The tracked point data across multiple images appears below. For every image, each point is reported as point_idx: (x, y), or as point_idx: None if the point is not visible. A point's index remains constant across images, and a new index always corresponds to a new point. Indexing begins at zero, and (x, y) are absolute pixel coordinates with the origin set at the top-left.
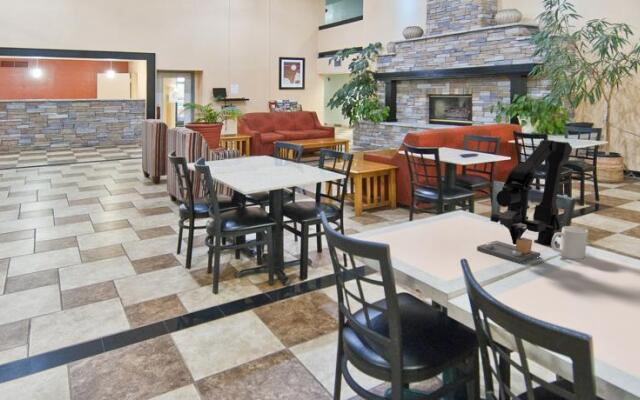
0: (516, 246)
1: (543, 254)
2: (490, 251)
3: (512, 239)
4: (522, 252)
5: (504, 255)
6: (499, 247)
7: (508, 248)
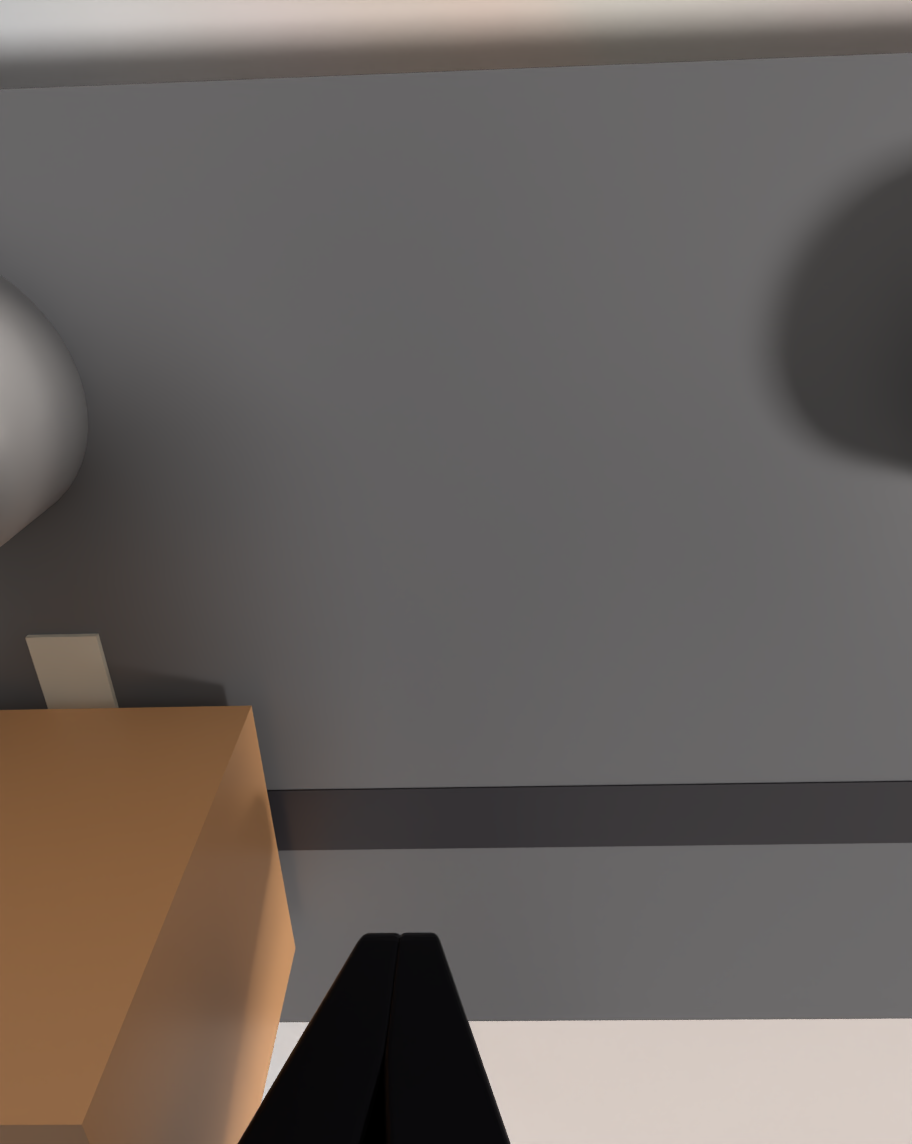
0: (191, 821)
1: None
2: (900, 59)
3: (460, 1091)
4: (3, 718)
5: (223, 83)
6: (814, 649)
7: (574, 774)
